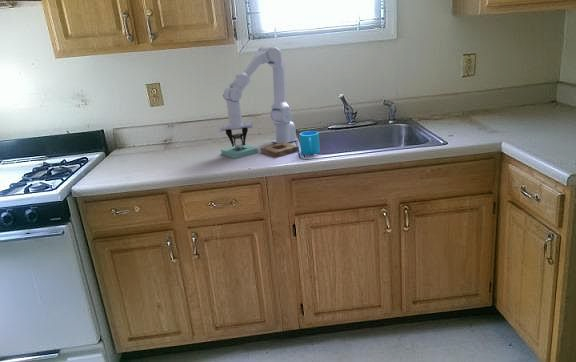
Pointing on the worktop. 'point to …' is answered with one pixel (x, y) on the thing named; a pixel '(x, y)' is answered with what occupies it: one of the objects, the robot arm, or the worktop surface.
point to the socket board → (236, 154)
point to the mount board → (279, 149)
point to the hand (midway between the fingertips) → (238, 145)
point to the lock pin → (238, 141)
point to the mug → (309, 142)
